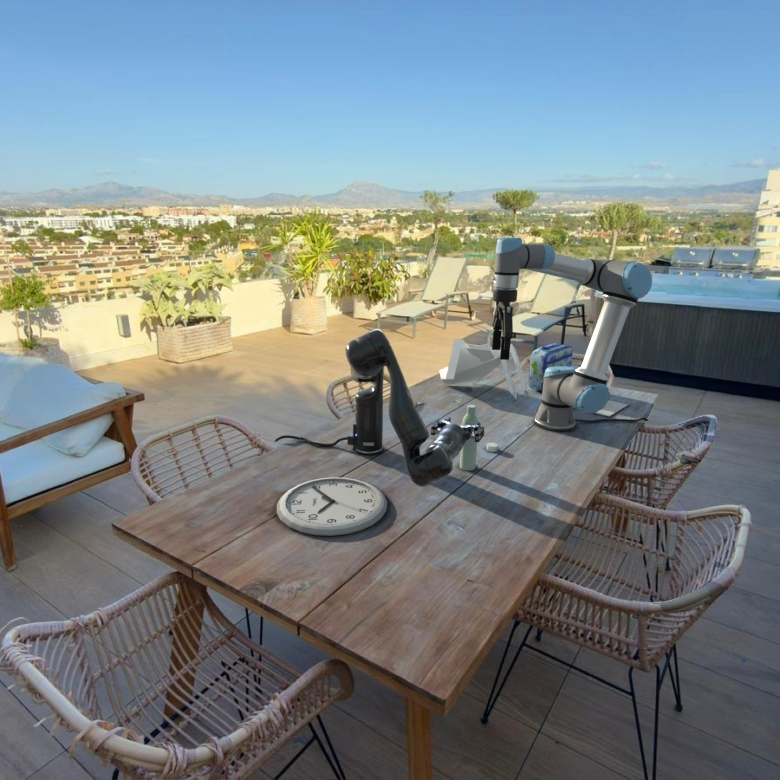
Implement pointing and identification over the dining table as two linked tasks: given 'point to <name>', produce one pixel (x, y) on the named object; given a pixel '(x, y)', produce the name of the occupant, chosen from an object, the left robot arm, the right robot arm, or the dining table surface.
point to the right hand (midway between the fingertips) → (500, 354)
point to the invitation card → (611, 408)
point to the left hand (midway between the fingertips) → (463, 422)
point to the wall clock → (331, 506)
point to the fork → (419, 401)
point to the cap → (492, 447)
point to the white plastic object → (479, 365)
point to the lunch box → (547, 362)
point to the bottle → (469, 442)
